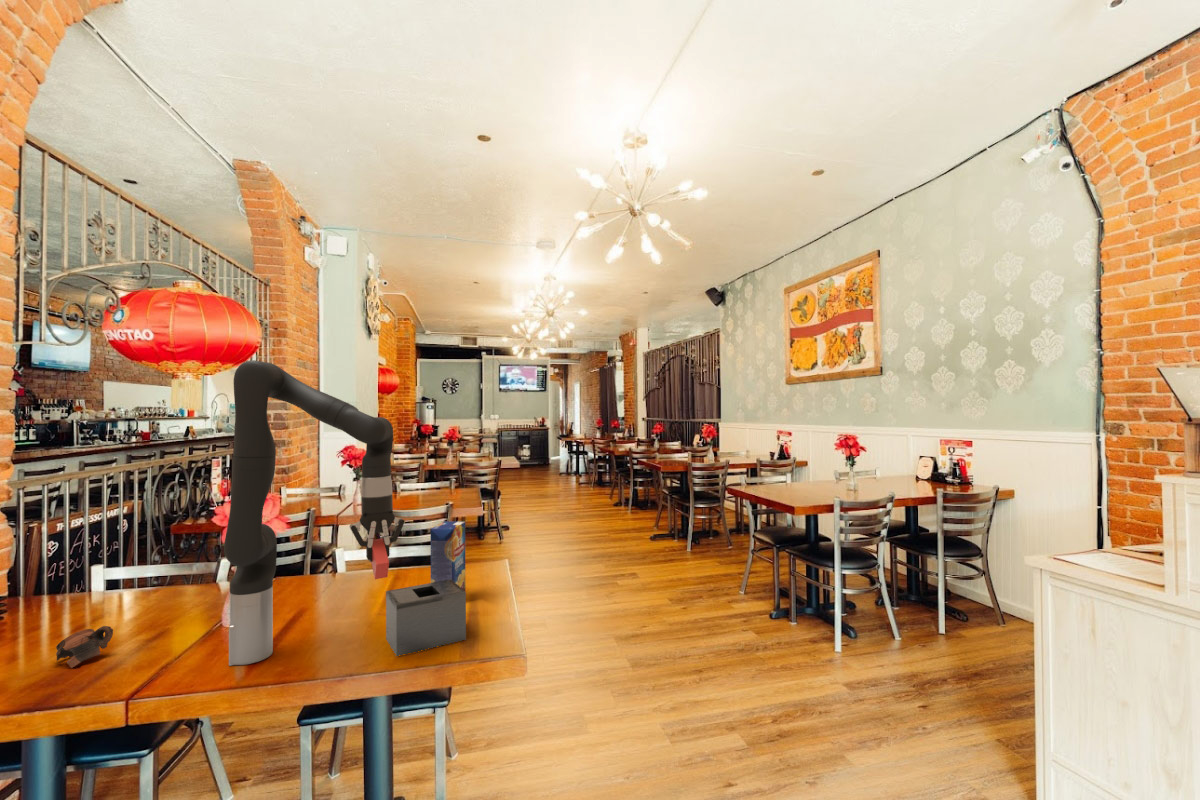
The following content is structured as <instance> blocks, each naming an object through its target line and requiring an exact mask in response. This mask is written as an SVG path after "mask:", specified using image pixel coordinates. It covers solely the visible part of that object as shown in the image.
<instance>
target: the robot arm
mask: <svg viewBox="0 0 1200 800" xmlns="http://www.w3.org/2000/svg"><path fill="white" fill-rule="evenodd" d="M233 395H234V396H233V397H234V399H233V400H234V411H235V412H234V416H235V417H234V419H235V420H234V433H233V434H234V435H233V436H234V437H233V451H232V462H231V485H230V486H231V487H230V507H229V514H228V515H229V516H228V521H227V525H226V526H227V527H226V532H225V537H224V545H223V553H224V557H225V558H226V559H227V562H229V563H230V564H231V565H233V566H235V567H236V569H235V572H234V574H233V577H232V578H231V579H230V582H229V624H228V626H229V627H228V666H229V667H230V666H231V667H232V666H245V665H251V664H254V663H259V662H261V661H264V660H265V659H267V658H269V657H270V656H271V655H273V652H274V651H273V650H274V649H273V647H274V642H273V641H274V640H273V639H274V637H273V634H274V633H273V632H274V629H273V628H274V626H273V623H274V622H273V621H274V617H273V616H274V612H273V610H274V609H273V608H274V607H273V606H274V604H273V603H274V601H273V599H274V598H273V593H274V592H273V591H274V587H273V585H274V584H273V583H274V577H275V575H276V571H277V557H278V556H277V554H278V553H277V552H278V551H277V550H278V549H277V548H278V544H277V543H278V542H277V536H276V533H275V531H274V529H273V528H272V527H271V526H269V525H267V524H266V523H263V513H264V511H263V510H264V507H265V503H266V500H267V497H268V495H269V492H270V489H271V487H272V484H273V481H274V477H275V473H276V472H275V471H276V455H277V448H276V444H275V440H274V436H273V433H272V431H271V428H270V424H269V421H268V404H269V398H271V399H274V400H279V401H282V402H285V403H288V404H291V405H293V406H295V407H297V408H299V409H300V410H302V411H304V412H305V413H306V414H307V415H309V416H311V417H312V418H314V419H316V420H317V421H320V422H321V423H324V424H326V425H328V426H330V427H333V428H335V429H338V430H340V431H343V432H344V433H346V434H347V435H348V436H350V437H351V438H353V439H355V440H357V441H359V442H360V443H363V444H366V449H365V450H366V452H365V454H364V455H363V457H362V460H361V483H360V486H361V487H360V496H361V498H360V499H361V500H360V503H361V516H360V518H359V521H357V522H355V523H351V524H350V525H349V529H350V531H351V533H352V535H353V536H354V538H355V539H356V542H357V543H358V545H359V546H360V547H365V548H366V549H365V550H366V553H365V555H366V559H367V560H368V561H369V562H370V563H371V562H372V561H373V559H372V545H373V540H375V534H378V533H381V537H382V538H383V541H384V544H385V548H386V552H387V556H388V558H389V557H390V556H391V555H390V554H391V553H390V545H391V544H392V543H395V542H397V540H398V538H399V536H400V534H401V532H402V530H403V528H404V527H403V526H404V525H405V520H404V519H403V518H401V517H396V516H395V513H394V510H393V509H394V507H393V502H394V501H393V481H392V480H393V479H392V465H391V464H392V463H391V457H392V451H393V443H394V429H393V428H394V427H393V425H392V423H391V421H390V420H389V419H387V418H386V417H383V416H376V417H375V416H373V415H370V414H367V413H365V412H362V411H361V410H359V409H358V408H357V407H356V406H354V405H353V404H350V403H348V402H346V401H344V400H342V399H339V398H337V397H335V396H333V395H330V394H328V393H326V392H324V391H322V390H318V389H316V388H314V387H311V386H310V385H308V384H306V383H304V382H302V381H300V380H299V379H297V378H296V377H295V376H293V375H291V374H289V373H288V372H287V371H285V370H284V369H282V368H281V367H279V366H278V365H276V364H275V363H272V362H268V361H267V362H266V361H262V360H253V359H250V360H247V361H246V360H245V361H244V362H241V363H240V365H239V366H238V367H237V368H236V370H235V372H234V376H233ZM393 522H394V524H393ZM392 524H393V525H394V528H393V531H392V533H391V535H390V534H389V529H390V527H391V526H392ZM361 526H362V527H363V528H364V529H365V531H366V540H364V539H363V537H362V536H361V534H360V531H361Z"/></svg>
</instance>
